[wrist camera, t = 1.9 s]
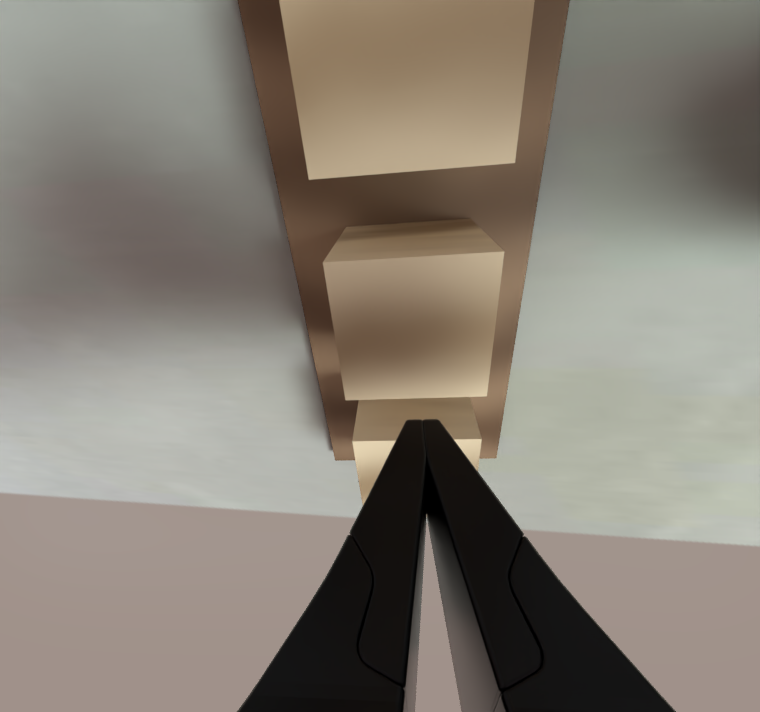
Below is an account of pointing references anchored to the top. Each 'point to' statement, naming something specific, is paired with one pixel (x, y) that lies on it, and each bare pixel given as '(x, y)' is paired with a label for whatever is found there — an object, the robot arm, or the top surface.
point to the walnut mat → (404, 205)
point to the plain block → (414, 308)
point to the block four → (386, 420)
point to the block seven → (407, 82)
